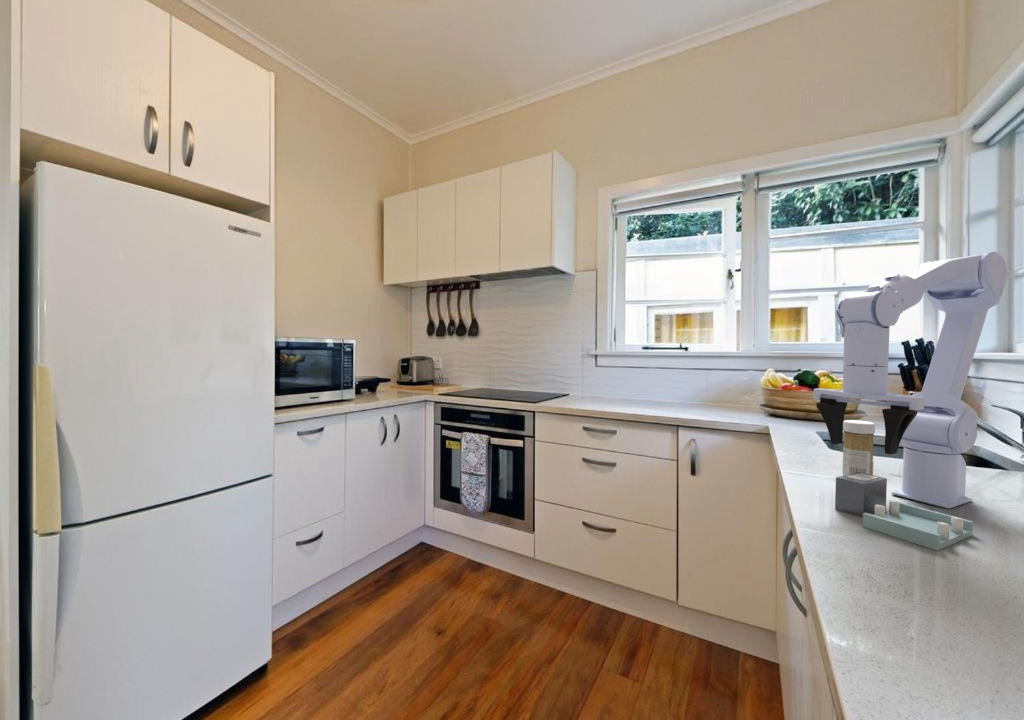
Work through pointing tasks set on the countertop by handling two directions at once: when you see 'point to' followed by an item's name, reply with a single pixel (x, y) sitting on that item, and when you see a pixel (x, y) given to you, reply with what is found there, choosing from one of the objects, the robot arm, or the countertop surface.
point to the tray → (918, 525)
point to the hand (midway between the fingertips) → (862, 448)
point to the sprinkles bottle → (858, 447)
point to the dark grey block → (860, 493)
